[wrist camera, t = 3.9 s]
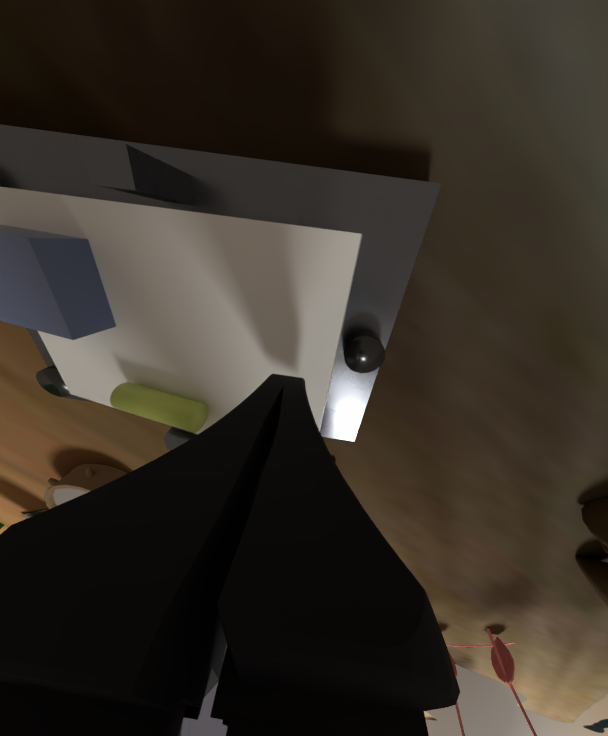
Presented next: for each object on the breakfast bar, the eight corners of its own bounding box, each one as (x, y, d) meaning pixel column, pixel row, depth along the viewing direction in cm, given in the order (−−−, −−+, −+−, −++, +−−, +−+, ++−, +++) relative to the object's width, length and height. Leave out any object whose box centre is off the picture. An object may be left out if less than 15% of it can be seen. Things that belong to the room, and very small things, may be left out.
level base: (428, 189, 11) (501, 154, 7) (352, 428, 20) (360, 487, 15) (-45, 126, 12) (-298, 48, 7) (81, 387, 20) (6, 432, 16)
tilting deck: (362, 235, 8) (358, 229, 5) (314, 456, 14) (301, 503, 11) (-9, 186, 11) (-125, 168, 8) (85, 386, 17) (34, 411, 14)
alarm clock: (83, 473, 23) (166, 568, 27) (126, 442, 27) (192, 526, 31) (23, 492, 26) (105, 574, 30) (71, 461, 30) (136, 536, 34)
